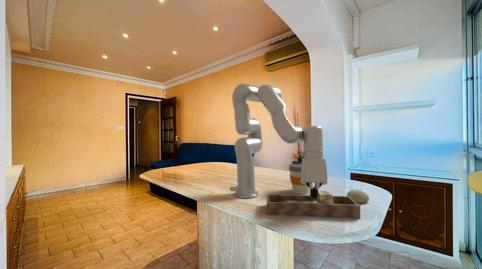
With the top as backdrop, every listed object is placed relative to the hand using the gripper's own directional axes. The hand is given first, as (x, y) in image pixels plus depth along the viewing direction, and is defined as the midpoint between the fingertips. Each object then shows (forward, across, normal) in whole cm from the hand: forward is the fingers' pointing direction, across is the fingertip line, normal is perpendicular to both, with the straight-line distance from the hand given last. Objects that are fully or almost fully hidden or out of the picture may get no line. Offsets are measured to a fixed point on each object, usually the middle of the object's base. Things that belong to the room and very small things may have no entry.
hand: (314, 197), depth 85 cm
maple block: (+3, +4, 0) cm, 5 cm away
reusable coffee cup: (+6, -2, +27) cm, 28 cm away
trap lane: (+6, -2, 0) cm, 6 cm away
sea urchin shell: (+6, +23, +15) cm, 28 cm away
